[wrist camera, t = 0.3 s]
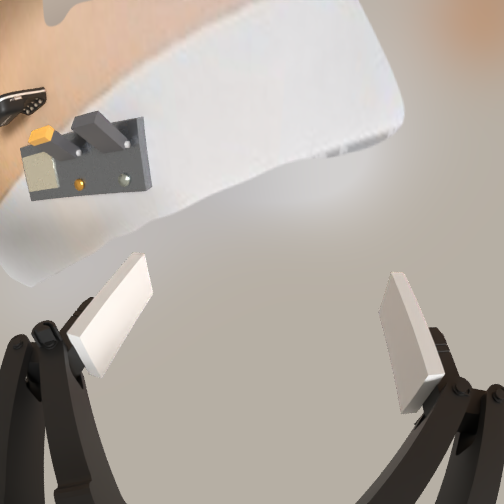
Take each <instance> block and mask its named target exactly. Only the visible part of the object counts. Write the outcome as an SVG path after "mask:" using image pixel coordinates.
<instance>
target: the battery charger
mask: <svg viewBox="0 0 504 504" xmlns="http://www.w3.org/2000/svg"><path fill="white" fill-rule="evenodd" d="M45 102H46V90H45V88H44V87H41V88H35V89H28V90H21V91H15V92H10V93H6V94H3V95H1V96H0V127H1V126H5V125H7V124H9V123H10V122H11V121H12V120H13V119H14V118H15V117H16V116H17V115H18V114H19V113H23V114H27V115H30V114H32V113H33V112H34V111H36V110H37V109H38V108H39V107H41V106H42V105H43V104H44V103H45Z"/></svg>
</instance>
